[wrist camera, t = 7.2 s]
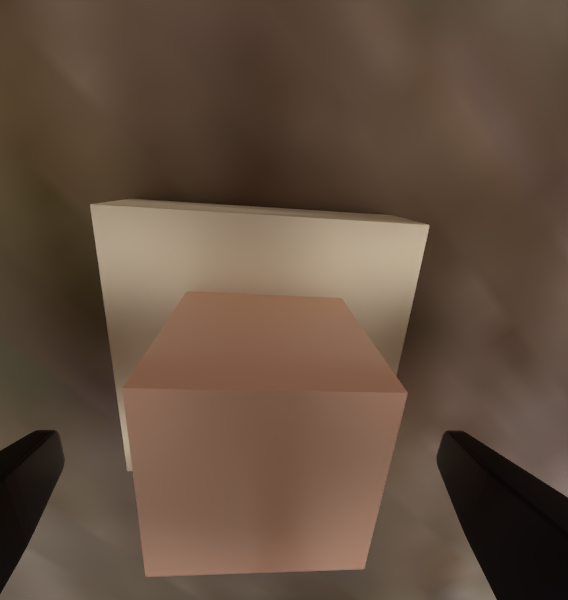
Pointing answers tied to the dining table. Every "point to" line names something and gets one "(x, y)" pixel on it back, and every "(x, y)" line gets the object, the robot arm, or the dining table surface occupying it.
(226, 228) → the base
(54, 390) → the dining table surface
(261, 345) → the cube
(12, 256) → the dining table surface
